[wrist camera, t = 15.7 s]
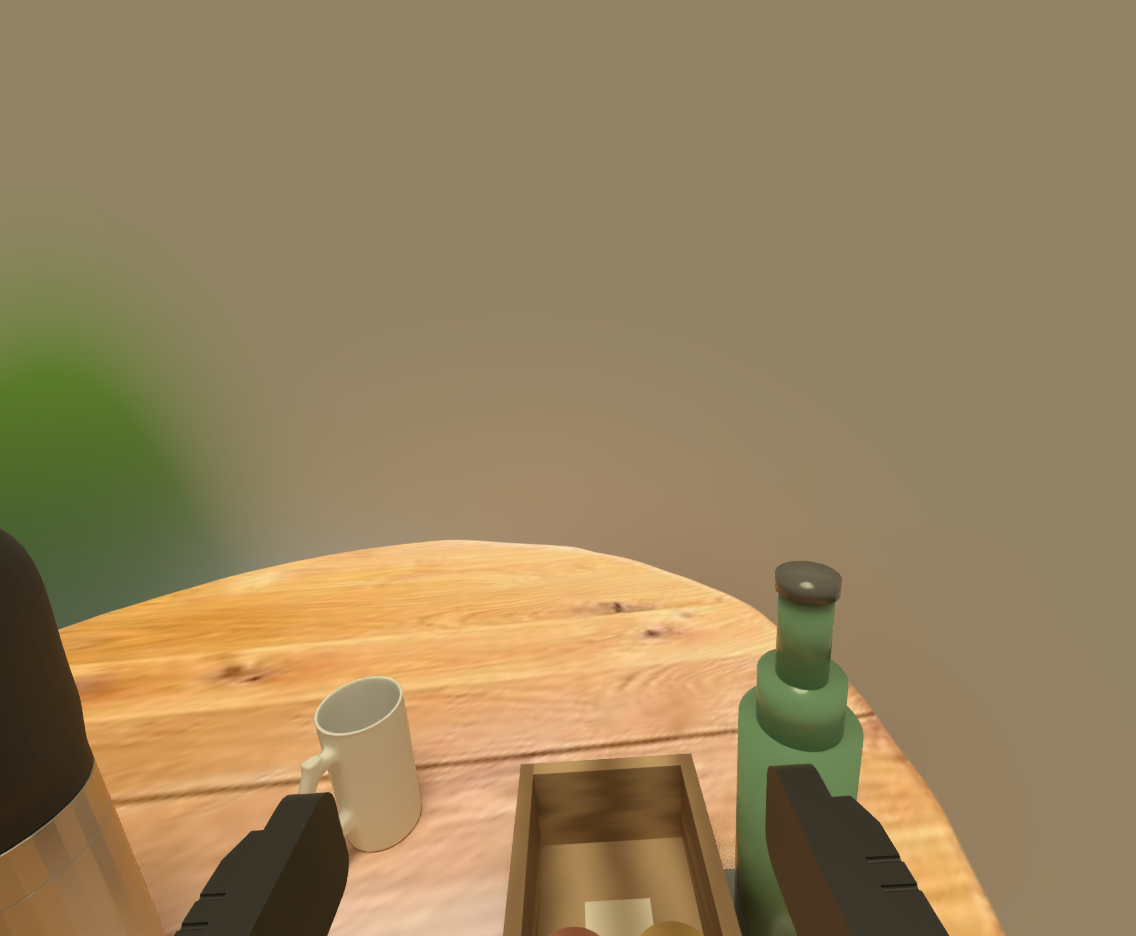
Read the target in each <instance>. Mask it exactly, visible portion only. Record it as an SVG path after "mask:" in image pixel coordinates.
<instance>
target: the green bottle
mask: <svg viewBox="0 0 1136 936" xmlns="http://www.w3.org/2000/svg"><path fill="white" fill-rule="evenodd" d="M841 582H842V578H841V576H840V574H839V573H838V572H836V571H835V570H834V569H832V568H830V567H828V566H825V565H823V564H819V563H814V562H809V561H792V562H787V563H783V564H781V565H779V566H778V567H777V569H776V571H775V589H776V591H777V592H778V593H779V596H778V618H777V639H776V649H774V650H771V651H769V652H767V653H765V654H764V655H763V656H762V657H761V658H760V659H759V661H758V664H757V686H755V687H754V688H752V689H750V690H749V691H748V692H747V693H746V694H745V695H744V696H743V698H742V699H741V702H740V705H739V719H738V761H737V804H736V846H735V888H734V909H735V913H736V916H737V920H738V923H739V927H740V931H741V934H742V936H797V934H796V931H795V928H794V926H793V923H792V920H791V918H790V915H789V912H788V909H787V907H786V904H785V901H784V899H783V896H782V893H781V890H780V888H779V885H778V882H777V880H776V877H775V874H774V871H773V868H772V865H771V861H770V858H769V853H768V848H767V843H766V834H765V817H766V785H767V770H768V767H769V766H777V765H793V764H812V765H813V766H814V767H815V768H816V769H817V771H818V772H819V774H820V776H821V778H822V780H823V781H824V783H825V785H826V787H827V789H828V791H829V792H830V794H831V796H832V797H837V796H852V797H853V798H854V799H855V800H856V801H857V793H858V784H859V775H860V766H861V756H862V747H863V730H862V727H861V724H860V722H859V720H858V718H857V717H856V716H855V714H854V713H853V712H852V711H851V710H850V708H849V707H848V706H846V705H847V694H848V678H847V676H846V674H845V672H844V671H843V670H842V668H841V667H840V666H839V665H838V664H836V663H835V662H834V661H832V660H831V659H830V658H831V647H832V633H833V623H834V611H835V602H836V601H837V600H838V599H839V598H840V594H841Z"/></svg>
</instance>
